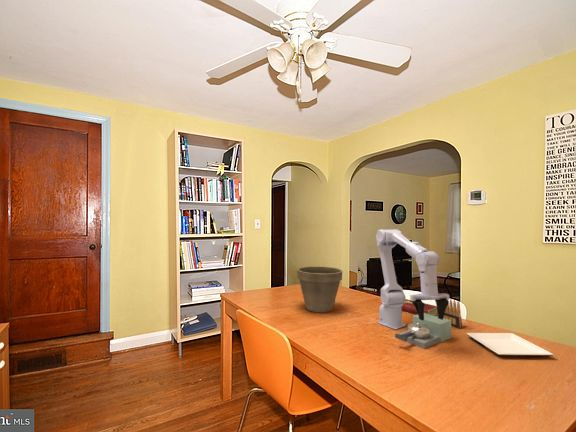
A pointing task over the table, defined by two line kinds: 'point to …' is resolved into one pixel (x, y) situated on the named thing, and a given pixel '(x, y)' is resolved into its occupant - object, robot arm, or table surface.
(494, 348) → the plate
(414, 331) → the grey t-handle
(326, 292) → the plant pot
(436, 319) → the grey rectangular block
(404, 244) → the robot arm
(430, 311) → the hardcover book
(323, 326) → the table surface
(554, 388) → the table surface
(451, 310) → the ammunition clip
